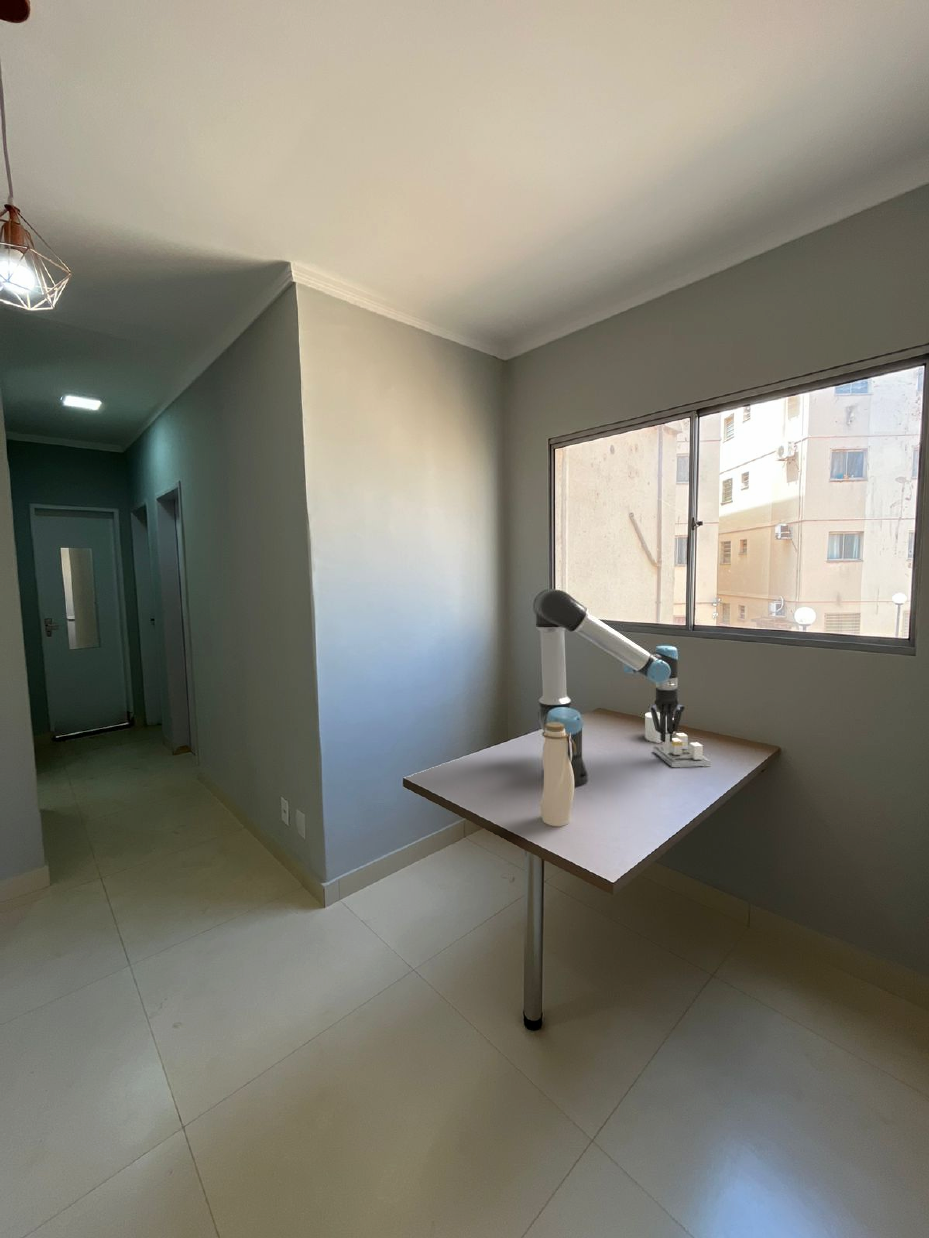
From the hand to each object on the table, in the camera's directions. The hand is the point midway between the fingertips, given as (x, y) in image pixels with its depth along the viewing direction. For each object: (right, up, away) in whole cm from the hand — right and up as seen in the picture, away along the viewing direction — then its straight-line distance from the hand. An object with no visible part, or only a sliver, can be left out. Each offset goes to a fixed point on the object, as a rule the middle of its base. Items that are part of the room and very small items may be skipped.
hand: (666, 749), depth 186 cm
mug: (+7, -2, +22) cm, 23 cm away
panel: (+6, -3, +1) cm, 7 cm away
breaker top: (+8, -1, +6) cm, 10 cm away
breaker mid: (+4, -1, 0) cm, 4 cm away
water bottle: (-48, -9, -43) cm, 65 cm away
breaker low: (+9, -1, -5) cm, 10 cm away
